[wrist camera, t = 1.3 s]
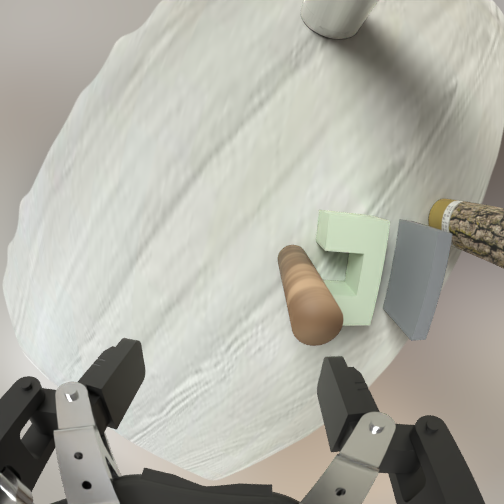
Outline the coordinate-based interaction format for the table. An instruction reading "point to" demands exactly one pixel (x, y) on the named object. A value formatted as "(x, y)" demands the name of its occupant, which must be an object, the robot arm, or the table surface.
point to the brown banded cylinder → (308, 299)
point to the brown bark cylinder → (472, 227)
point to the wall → (417, 277)
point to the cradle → (355, 260)
